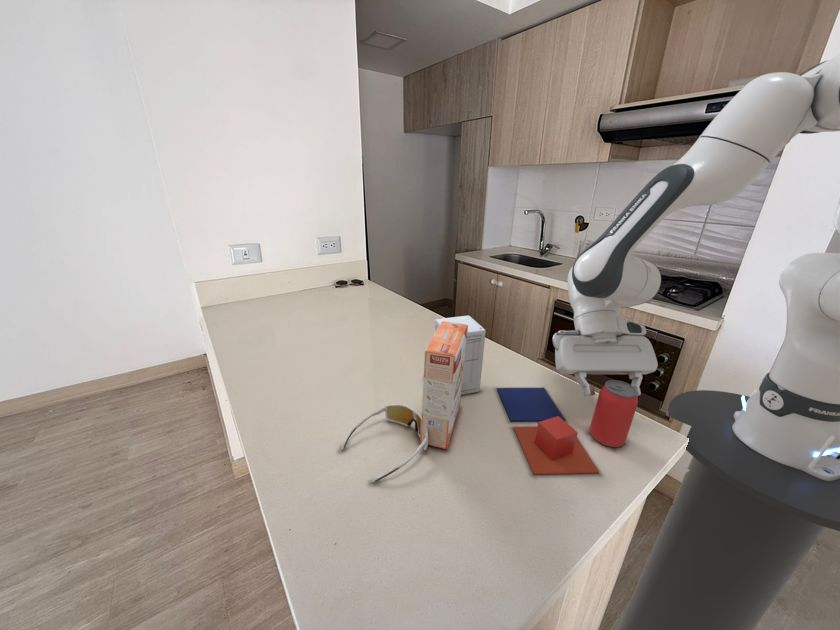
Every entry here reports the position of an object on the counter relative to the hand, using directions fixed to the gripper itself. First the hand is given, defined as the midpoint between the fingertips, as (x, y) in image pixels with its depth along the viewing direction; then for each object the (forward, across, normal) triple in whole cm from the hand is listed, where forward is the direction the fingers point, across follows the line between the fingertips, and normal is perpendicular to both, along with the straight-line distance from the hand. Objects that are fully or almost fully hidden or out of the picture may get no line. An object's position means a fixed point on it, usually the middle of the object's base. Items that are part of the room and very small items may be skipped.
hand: (612, 395), depth 69 cm
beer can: (+8, 0, +5) cm, 9 cm away
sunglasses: (+9, -45, +4) cm, 46 cm away
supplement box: (-6, -29, +18) cm, 35 cm away
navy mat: (0, -13, +12) cm, 18 cm away
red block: (+10, -13, +2) cm, 16 cm away
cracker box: (+5, -34, +8) cm, 35 cm away
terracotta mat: (+10, -13, +2) cm, 16 cm away
